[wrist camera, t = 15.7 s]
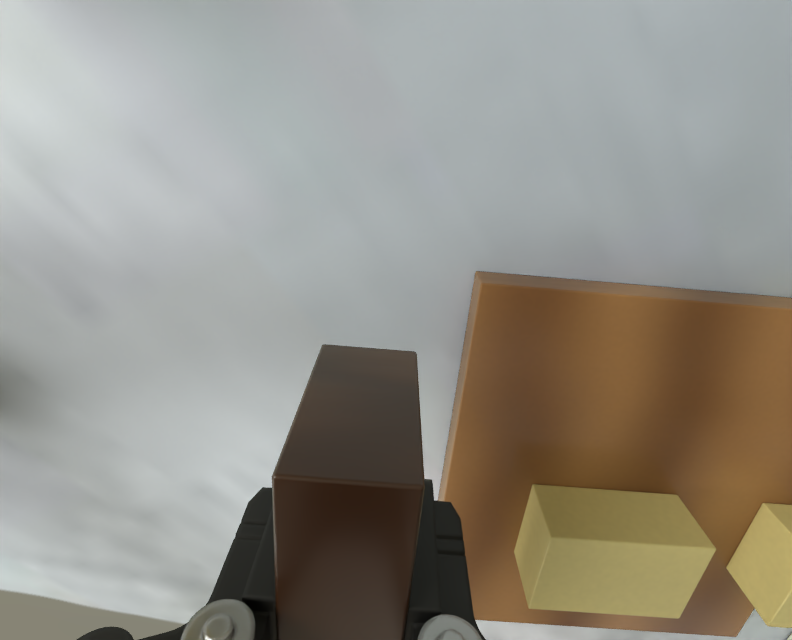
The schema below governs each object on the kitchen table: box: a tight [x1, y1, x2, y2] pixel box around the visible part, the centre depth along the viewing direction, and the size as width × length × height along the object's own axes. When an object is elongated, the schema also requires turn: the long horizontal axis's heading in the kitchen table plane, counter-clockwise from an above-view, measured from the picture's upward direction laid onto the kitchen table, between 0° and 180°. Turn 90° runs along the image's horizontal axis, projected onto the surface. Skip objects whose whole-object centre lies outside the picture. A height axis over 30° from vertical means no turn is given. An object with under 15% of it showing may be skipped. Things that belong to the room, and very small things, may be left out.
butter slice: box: [726, 503, 792, 628], centre depth 21 cm, size 2×5×3 cm, turn 175°
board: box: [438, 271, 792, 637], centre depth 22 cm, size 18×20×2 cm
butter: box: [514, 484, 716, 619], centre depth 21 cm, size 7×5×3 cm, turn 85°
